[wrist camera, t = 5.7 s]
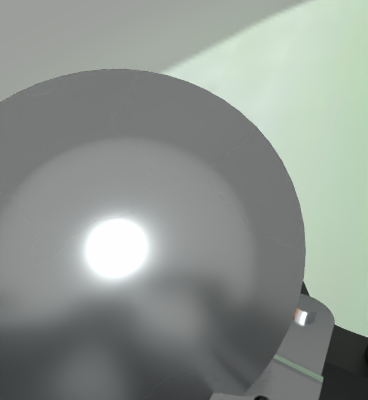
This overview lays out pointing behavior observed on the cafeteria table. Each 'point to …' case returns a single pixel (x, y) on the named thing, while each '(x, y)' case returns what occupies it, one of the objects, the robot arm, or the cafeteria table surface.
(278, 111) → the cafeteria table surface
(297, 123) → the cafeteria table surface
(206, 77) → the cafeteria table surface
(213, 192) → the tin can
